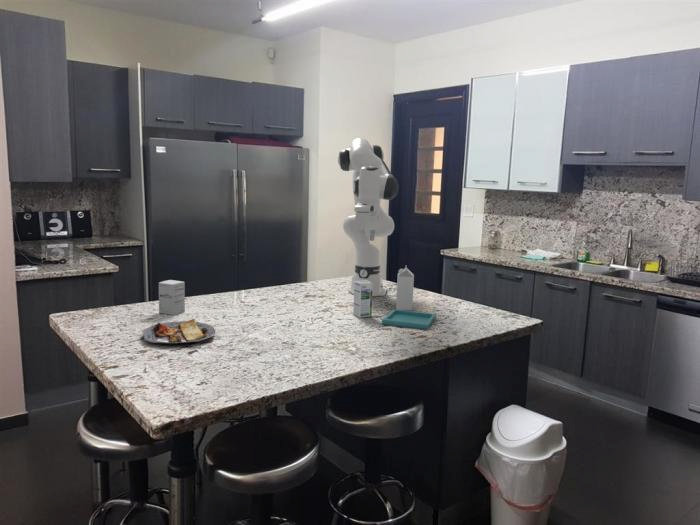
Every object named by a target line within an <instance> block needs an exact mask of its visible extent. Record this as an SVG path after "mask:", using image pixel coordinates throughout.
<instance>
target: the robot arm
mask: <svg viewBox="0 0 700 525" xmlns="http://www.w3.org/2000/svg"><path fill="white" fill-rule="evenodd" d="M384 160H385V154H384V150H383V149H382V146H380V145H376V144H375V145H374V144H372V145H371V144H370V142H369V141H368V140H367V139H366V138H364V137H363V138H362V137H358V138H355V139H354V140H353V141H352V142H351V143H350V146H349V148H344V149H342V150H340V151H339V152H338V157H337V164H338V165H339V167H340V170H342V171H344V172H350V171H353V173H352V192H353V200H354V201H353V202H354V204H355V205H354V212H355V214H352V215H348V216H346V218H345V219H344V220H343V224H342V225H343V227H342V229H343V231H344V233H345V235H346V236H347V237H348V238H349V239H351V240H352V242H353V245H354V247H355V259H356V260H355V261H356V262H355V265H354V272H355V273H354V274H353V275H352V276H351V282H350V289H347V292H348V293H350V294H352V295H354V281H365V280H367V281H370V282H372V283H373V288H372V297H383V296H386V293H387V287H385V286H384V285H383V278H382V275H381V271H380V270H381V264H380V251H379V248H378V247H377V246H375V245H374V244H372V243H371V242H370V241H372V242H373V241H375V238H384V237H388V236H391V235H392V234H393V233H394V231H395V222H394V219H393V217H391V216H390V215H388V213H386V212H385V210H383V208H382V206H381V200H386V201H387V200H388V201H392V200H393V199H394V198H395V197H396V196H397V195H398V192H399V184H398V180H397V179H396V178H395V176H394V175H393V174H392V172H391V171H390V168H389V167H388V165H387V164H386V162H385V161H384Z"/></svg>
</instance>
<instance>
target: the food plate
mask: <svg viewBox="0 0 700 525" xmlns="http://www.w3.org/2000/svg"><path fill="white" fill-rule="evenodd" d="M142 333H143V340H144V341H146V342H149V343H152V344H153V343H156V344H168V345H176V344H177V345H178V344H179V345H180V344H188V343H196V342H201V341H203V340H206V339H208V338H211V337H213V336H214V335H215V334H216V333H217V332H216V329H215V328H214V327H213V326H212V325H211V324H208V323H205V322H200V321H196V319H194V318H192V319H190V320H187V321H168V322H162V323H161V322H157V324H154V325H151V326H148V327H147V328H145V329H144V330H143V331H142ZM160 340H161V341H160ZM182 340H184V341H182Z"/></svg>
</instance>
